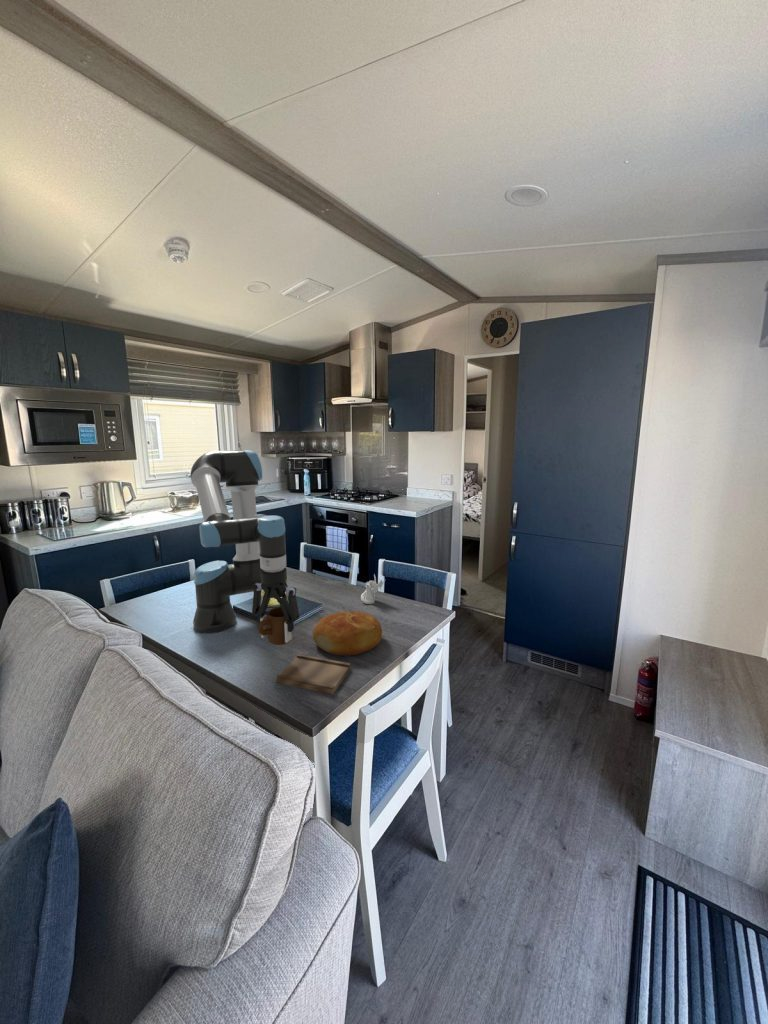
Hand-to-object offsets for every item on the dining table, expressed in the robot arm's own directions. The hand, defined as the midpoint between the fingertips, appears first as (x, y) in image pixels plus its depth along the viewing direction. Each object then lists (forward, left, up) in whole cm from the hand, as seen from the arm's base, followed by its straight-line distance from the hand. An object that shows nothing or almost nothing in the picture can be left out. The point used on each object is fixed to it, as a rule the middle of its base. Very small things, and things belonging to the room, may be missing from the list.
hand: (276, 638), depth 132 cm
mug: (-1, 0, -2) cm, 2 cm away
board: (+13, -1, -9) cm, 16 cm away
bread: (+15, +21, -10) cm, 28 cm away
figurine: (+12, +56, -10) cm, 58 cm away
